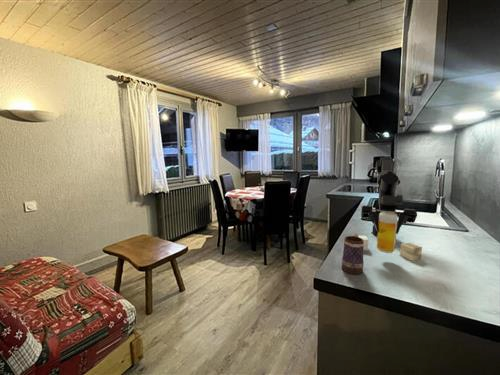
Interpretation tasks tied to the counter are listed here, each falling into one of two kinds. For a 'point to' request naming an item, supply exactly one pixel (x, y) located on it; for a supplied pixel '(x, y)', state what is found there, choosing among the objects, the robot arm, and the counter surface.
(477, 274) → the counter surface
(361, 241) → the mug
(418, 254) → the birch block
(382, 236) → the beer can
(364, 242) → the cream plastic block
